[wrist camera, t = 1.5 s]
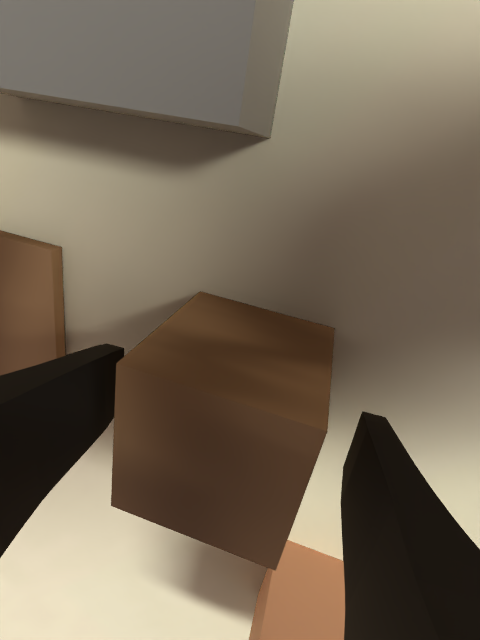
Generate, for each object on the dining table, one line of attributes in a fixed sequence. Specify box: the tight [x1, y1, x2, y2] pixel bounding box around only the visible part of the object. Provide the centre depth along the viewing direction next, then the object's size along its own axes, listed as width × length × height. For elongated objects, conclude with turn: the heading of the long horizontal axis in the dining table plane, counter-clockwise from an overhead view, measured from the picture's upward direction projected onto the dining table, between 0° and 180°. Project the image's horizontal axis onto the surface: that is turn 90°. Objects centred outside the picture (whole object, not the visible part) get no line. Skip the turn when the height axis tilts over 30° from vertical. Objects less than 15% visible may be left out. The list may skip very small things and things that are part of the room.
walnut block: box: [111, 292, 335, 571], centre depth 10 cm, size 4×4×5 cm
